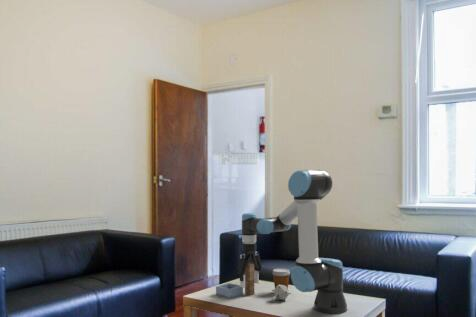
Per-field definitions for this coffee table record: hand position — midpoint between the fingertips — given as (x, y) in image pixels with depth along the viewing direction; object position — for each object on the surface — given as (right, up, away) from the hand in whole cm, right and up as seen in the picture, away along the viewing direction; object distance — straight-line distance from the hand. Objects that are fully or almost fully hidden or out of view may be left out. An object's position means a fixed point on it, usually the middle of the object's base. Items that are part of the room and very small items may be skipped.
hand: (249, 285), depth 235 cm
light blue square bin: (-11, -5, 0) cm, 12 cm away
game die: (+16, -5, -11) cm, 20 cm away
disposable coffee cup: (+17, -5, +2) cm, 18 cm away
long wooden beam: (0, -5, 0) cm, 5 cm away
